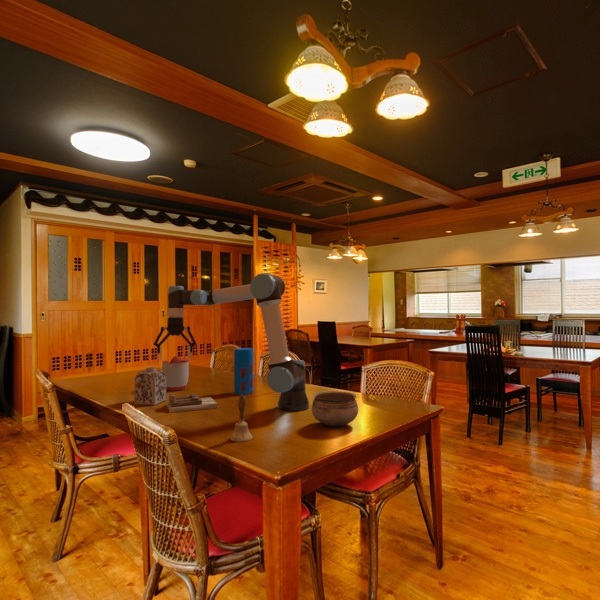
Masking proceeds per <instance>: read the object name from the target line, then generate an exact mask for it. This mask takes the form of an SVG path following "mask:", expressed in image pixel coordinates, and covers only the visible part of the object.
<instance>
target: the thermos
mask: <svg viewBox="0 0 600 600" xmlns="http://www.w3.org/2000/svg"><path fill="white" fill-rule="evenodd" d="M233 351H234V353H233V355H234V357H233V359H234V360H233V362H234V364H233V370H234V372H233V376H234V377H233V384H234V385H233V386H234V387H233V388H234V395H237V394H238V396H240V395H244V396H246V394H248V395H252V394H253V393H254V348H252V347H243V348H242V347H239V348H234V350H233Z"/></svg>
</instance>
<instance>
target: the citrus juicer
mask: <svg viewBox="0 0 600 600" xmlns="http://www.w3.org/2000/svg"><path fill="white" fill-rule="evenodd" d="M189 361H190V359H181V358H179V357H178V356H177V355H175V356H173V357H172V358H171V359H170V361H168V360H161V363H162V364H161V367H162V368H161V371H162V372H164V373H165V374H166V391H169V392H174V391H181V390H182V391H183V390H185V389H186V388H187V386H188V385H187V384H188V382H189V366H190V365H189V364H190V363H189Z"/></svg>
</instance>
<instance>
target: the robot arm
mask: <svg viewBox="0 0 600 600" xmlns="http://www.w3.org/2000/svg"><path fill="white" fill-rule="evenodd" d="M250 281H251V282H250V283H249V284H244V285H236V286H230V287H224V288H219V289H218V288H217V289H211V290H204V289H185V288H184V286H182V285H170V286H168V290H167V326H161V327H160V331H159V332H158V335H157V337H156V338H155V340H154V342H153V346H155V347H157V348H156V349H157V350H156V351H157V355H158V354H159V362H160V361H161V362H162V345H163V344H164V343H165V342H166V340H168V338H169V337H170V336H173V337H175V336H181V338H182V339H184V341H186V343H187V344H188V346H187V360H191V353H193V347H194V346H195V345H197V342H196V340H195V338H194V336H193V334H192V331H191V328H190V326H185V325H184V306H207V307H210V306H214V305H220V304H226V303H233V302H240V301H247V300H252V299H253V300H254V299H255V302H256V306H258V307H259V308H260V312H261V315H262V321H263V325H264V332H265V337H266V343H267V347H268V353H269V359H270V360H269V361H268V363H267V366H268V373H267V375H266V381H267V385H268V386H269V388H270V389H271V390H272V391H274V392H276V393H280V395H279V398H278V401H277V409H279V410H280V411H285V412H286V411H287V412H300V411H301V412H302V411H305V410H308V409H309V408H310V402H309V399H308V395H307V392H306V361H304V360H303V359H301V360H299V359H294V358H292V357H291V356H290V354H289V349H288V344H287V339H286V337H287V336H286V332H285V328H284V322H283V317H282V312H281V307H280V304H281V302H282V300H283V299H282V296H283V295H284V293H285V291H286V283H285V281H284V280H283V279H282V277H280V276H278V275H274V274H271V273H268V272H267V273H266V272H264V273H263V272H262V273H257V274H256V275H255V276H254V277H253V278H252V280H250ZM184 326H185V327H184ZM184 330H185V332H187V333H188V336H189V338H190V340H191V341H190V340H189V338H187V336H186V335H185V334H184ZM165 331H167V334H166V335H165V336H164V337H163V338H162V339H161V340H160V338H161V337H162V335H163V333H164V332H165ZM159 340H160V341H159Z"/></svg>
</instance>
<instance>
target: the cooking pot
mask: <svg viewBox="0 0 600 600" xmlns="http://www.w3.org/2000/svg"><path fill="white" fill-rule="evenodd" d="M313 398H314V399H313V402H312V404H311V413H312V415H313V417H314V418H315V420H317V421H318V422H319V423H320V424H323V425H325V426H326V427H328V428H332V429H341V428H343V427H344V426H346V425H348V424H350V423H351V422H354V420H355V419H356V418H357V417H358V416H357V415H358V413H359V406H358V403H357V399H356V398H357V394H355V393H353V392H347V391H339V390H330V391H329V390H328V391H320V392H316V393H314V394H313Z"/></svg>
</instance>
